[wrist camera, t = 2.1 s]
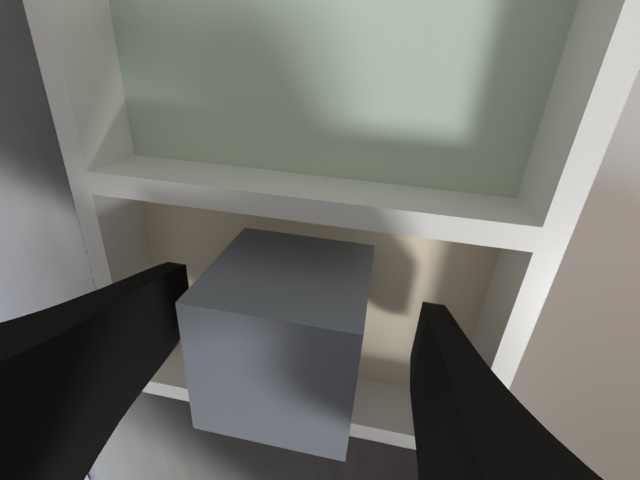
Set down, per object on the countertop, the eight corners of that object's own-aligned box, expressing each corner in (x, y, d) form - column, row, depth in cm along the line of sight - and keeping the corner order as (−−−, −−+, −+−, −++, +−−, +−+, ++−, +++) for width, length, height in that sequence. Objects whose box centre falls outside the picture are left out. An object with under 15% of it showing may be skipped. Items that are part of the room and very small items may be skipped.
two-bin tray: (465, 396, 13) (478, 463, 11) (162, 339, 15) (121, 387, 13) (661, -185, 7) (793, -308, 4) (74, -169, 8) (-43, -254, 6)
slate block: (359, 349, 12) (345, 461, 9) (248, 329, 13) (193, 427, 10) (374, 245, 11) (363, 335, 7) (244, 227, 11) (175, 302, 8)
